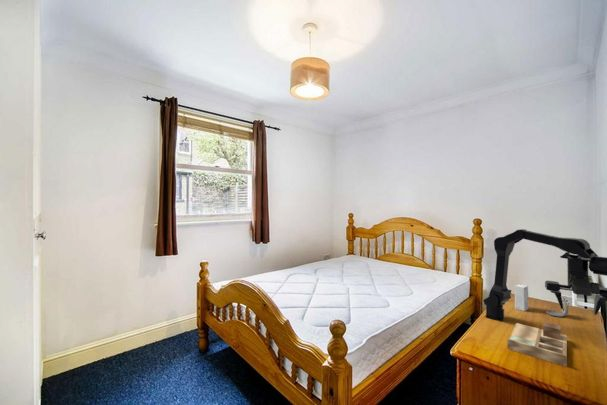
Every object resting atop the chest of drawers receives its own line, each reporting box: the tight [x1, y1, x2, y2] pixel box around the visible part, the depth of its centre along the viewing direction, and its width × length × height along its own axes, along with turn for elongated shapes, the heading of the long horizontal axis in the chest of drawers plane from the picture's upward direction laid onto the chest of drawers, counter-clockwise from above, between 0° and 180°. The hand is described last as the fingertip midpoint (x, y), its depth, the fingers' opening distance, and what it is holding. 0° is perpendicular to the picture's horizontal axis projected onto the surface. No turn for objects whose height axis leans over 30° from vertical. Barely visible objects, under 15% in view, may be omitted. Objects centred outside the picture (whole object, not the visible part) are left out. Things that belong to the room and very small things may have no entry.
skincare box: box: [514, 284, 530, 312], centre depth 141 cm, size 6×4×12 cm
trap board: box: [507, 322, 568, 368], centre depth 104 cm, size 16×25×4 cm, turn 135°
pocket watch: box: [545, 295, 569, 318], centre depth 133 cm, size 8×8×10 cm
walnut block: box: [542, 321, 562, 340], centre depth 108 cm, size 5×5×4 cm
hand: (578, 311), depth 104 cm, fingers open, 9 cm apart
